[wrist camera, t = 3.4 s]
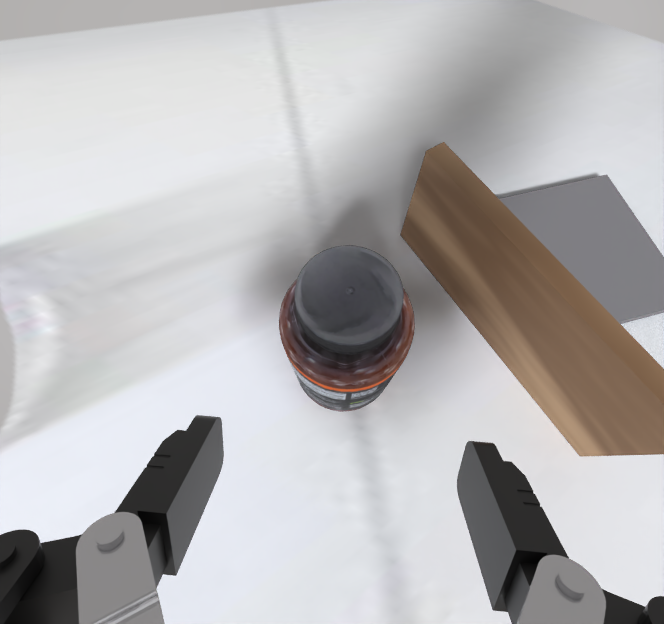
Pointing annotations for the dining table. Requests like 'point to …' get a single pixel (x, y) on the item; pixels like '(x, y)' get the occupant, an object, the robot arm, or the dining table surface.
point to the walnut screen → (535, 314)
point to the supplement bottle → (346, 326)
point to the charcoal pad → (597, 243)
